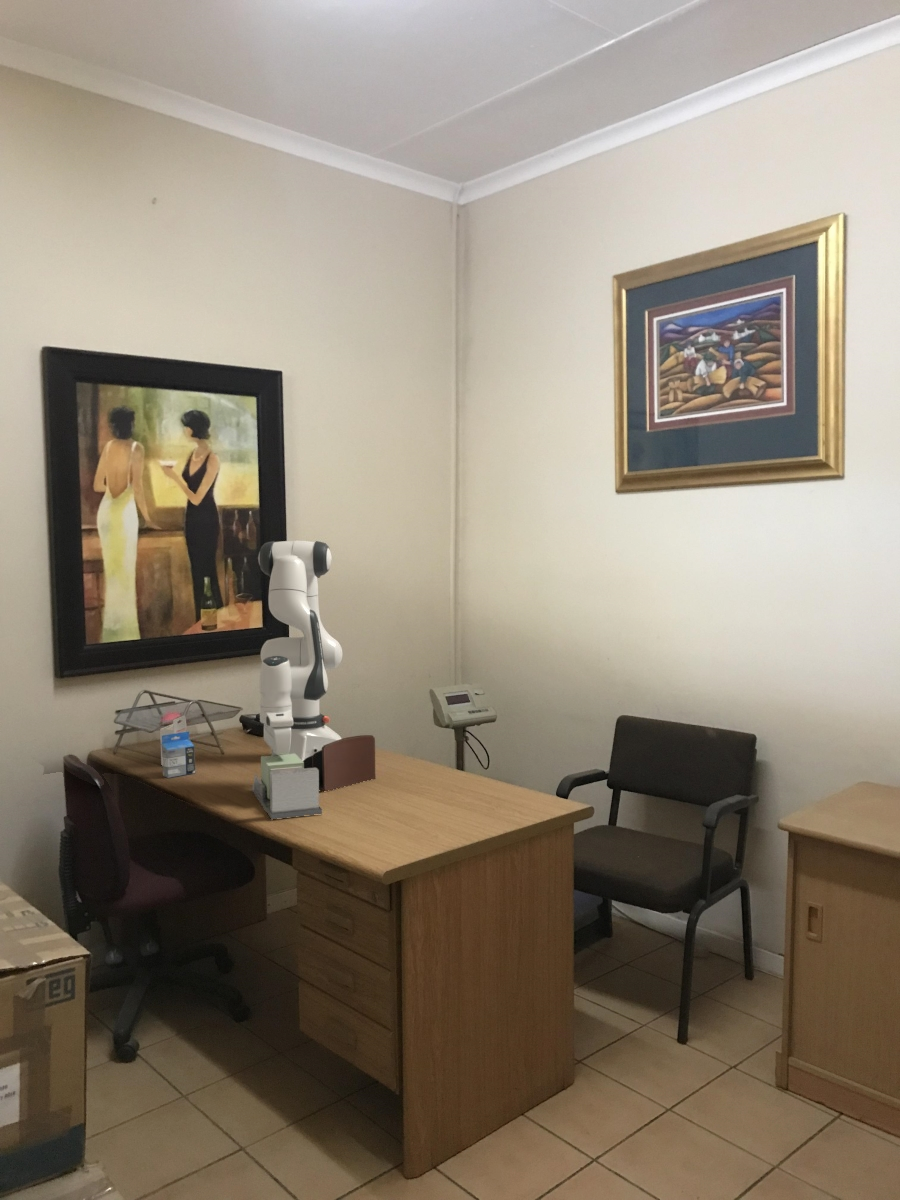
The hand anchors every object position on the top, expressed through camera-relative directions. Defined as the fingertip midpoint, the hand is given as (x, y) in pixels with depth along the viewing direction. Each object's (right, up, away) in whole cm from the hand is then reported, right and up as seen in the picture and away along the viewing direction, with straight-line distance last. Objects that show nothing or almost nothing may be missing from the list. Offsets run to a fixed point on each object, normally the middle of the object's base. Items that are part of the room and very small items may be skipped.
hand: (276, 764), depth 264 cm
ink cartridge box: (-38, -5, +32) cm, 50 cm away
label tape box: (-32, -7, +18) cm, 38 cm away
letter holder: (+16, -8, +10) cm, 21 cm away
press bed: (+4, -9, -10) cm, 14 cm away
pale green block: (+3, -7, -7) cm, 10 cm away
